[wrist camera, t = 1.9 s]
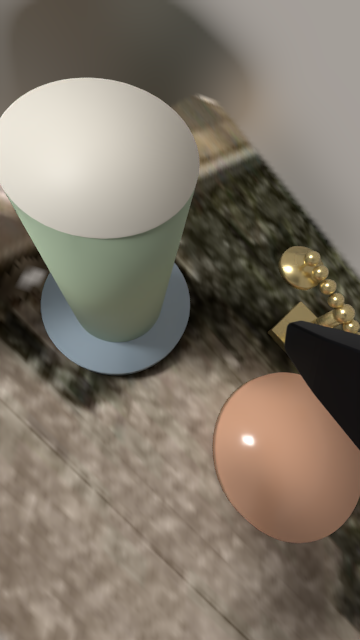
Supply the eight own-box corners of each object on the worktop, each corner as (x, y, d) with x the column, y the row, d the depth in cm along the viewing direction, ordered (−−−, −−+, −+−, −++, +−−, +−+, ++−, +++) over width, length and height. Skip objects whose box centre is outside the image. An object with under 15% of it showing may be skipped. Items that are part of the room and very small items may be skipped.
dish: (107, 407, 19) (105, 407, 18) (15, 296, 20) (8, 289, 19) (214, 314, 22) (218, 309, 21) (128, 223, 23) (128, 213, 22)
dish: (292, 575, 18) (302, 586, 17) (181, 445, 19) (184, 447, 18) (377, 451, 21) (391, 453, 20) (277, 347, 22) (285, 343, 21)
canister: (111, 361, 19) (79, 277, 7) (54, 293, 20) (-54, 124, 8) (179, 305, 21) (237, 171, 9) (124, 246, 21) (116, 55, 10)
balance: (334, 402, 22) (423, 397, 15) (236, 301, 23) (279, 254, 16) (360, 370, 23) (453, 351, 16) (265, 275, 24) (316, 221, 17)
